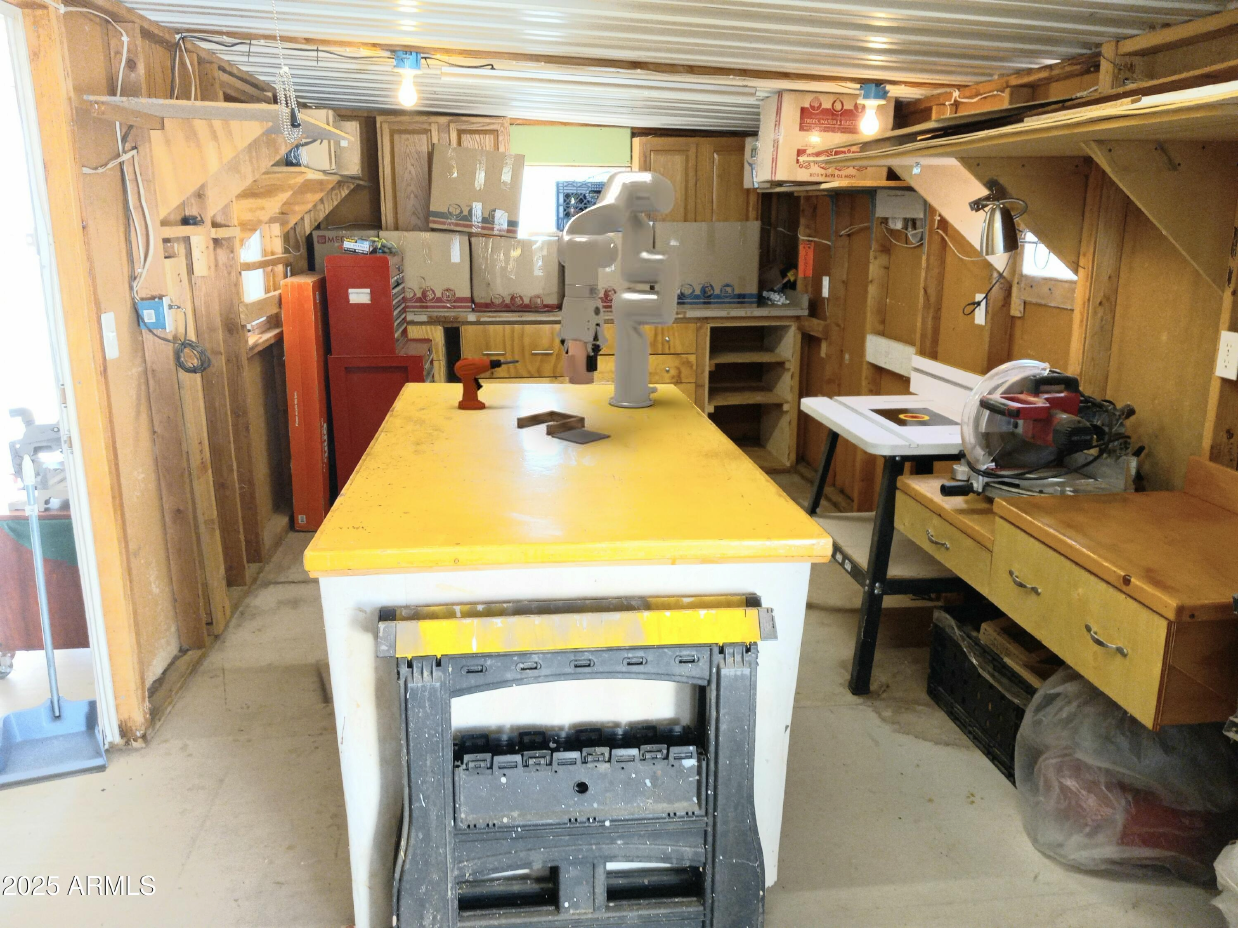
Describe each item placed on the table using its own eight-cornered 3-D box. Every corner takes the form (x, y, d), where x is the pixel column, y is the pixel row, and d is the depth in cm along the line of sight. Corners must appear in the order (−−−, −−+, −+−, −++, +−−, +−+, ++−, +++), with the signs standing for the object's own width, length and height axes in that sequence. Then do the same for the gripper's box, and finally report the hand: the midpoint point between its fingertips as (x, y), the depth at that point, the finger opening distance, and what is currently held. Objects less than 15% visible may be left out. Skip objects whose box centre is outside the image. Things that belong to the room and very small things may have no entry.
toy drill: (525, 404, 248) (517, 352, 244) (458, 413, 247) (449, 360, 243) (524, 401, 253) (517, 349, 248) (459, 409, 251) (450, 357, 247)
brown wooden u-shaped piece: (552, 419, 237) (552, 410, 237) (584, 427, 230) (584, 417, 230) (517, 427, 228) (517, 418, 228) (549, 435, 221) (549, 425, 221)
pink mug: (580, 378, 221) (580, 337, 218) (599, 382, 217) (599, 340, 214) (555, 383, 215) (555, 340, 212) (574, 387, 211) (574, 343, 208)
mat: (579, 430, 227) (579, 428, 227) (610, 436, 221) (610, 435, 221) (551, 437, 220) (551, 435, 220) (582, 444, 214) (582, 442, 214)
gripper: (621, 294, 209) (619, 372, 213) (565, 288, 219) (565, 363, 224) (599, 296, 203) (598, 376, 208) (543, 290, 214) (543, 367, 219)
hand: (581, 369), depth 216 cm, fingers closed on pink mug, 6 cm apart
